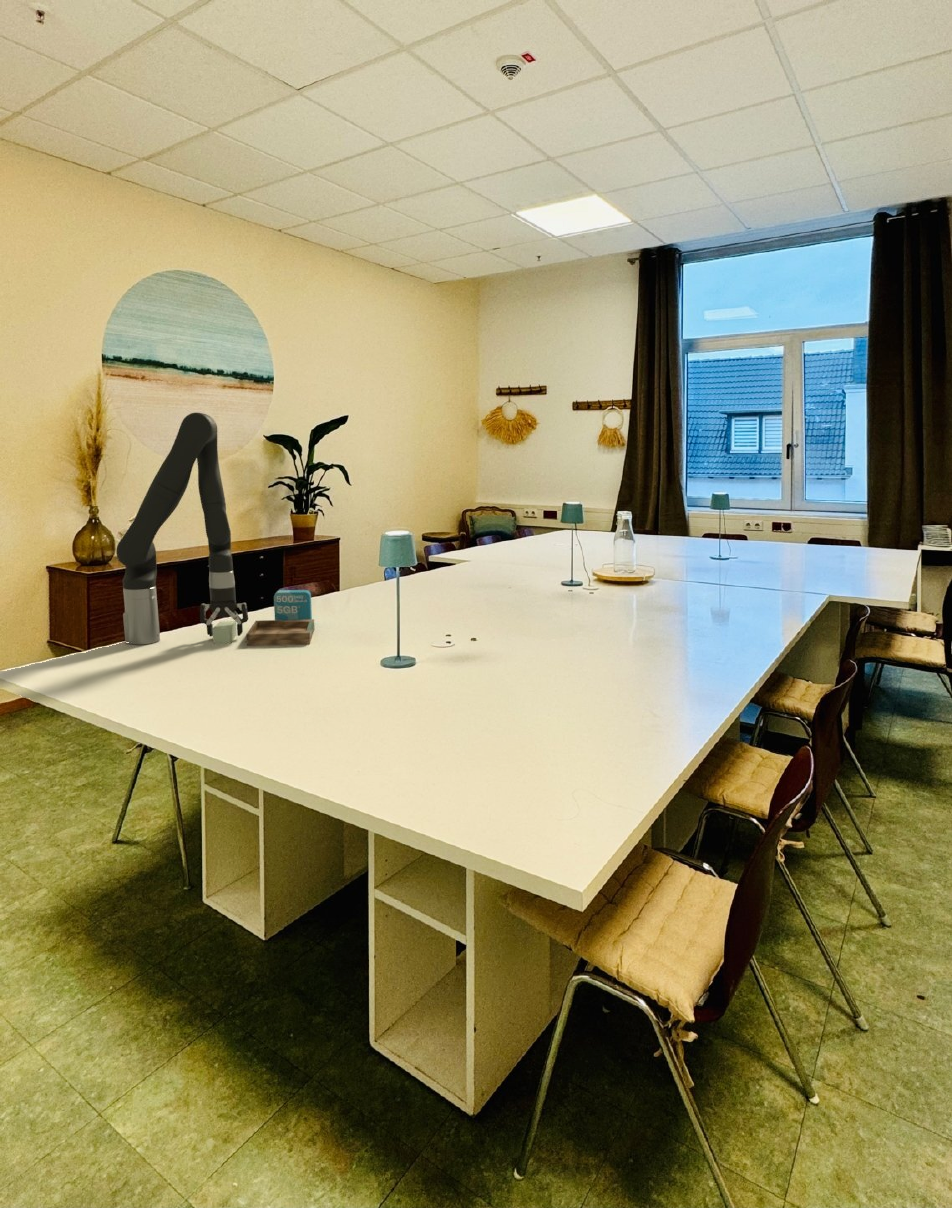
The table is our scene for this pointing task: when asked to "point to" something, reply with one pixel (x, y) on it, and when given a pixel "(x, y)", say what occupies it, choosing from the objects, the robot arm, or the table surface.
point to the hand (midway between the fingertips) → (225, 635)
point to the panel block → (224, 632)
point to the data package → (292, 605)
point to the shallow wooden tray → (280, 632)
